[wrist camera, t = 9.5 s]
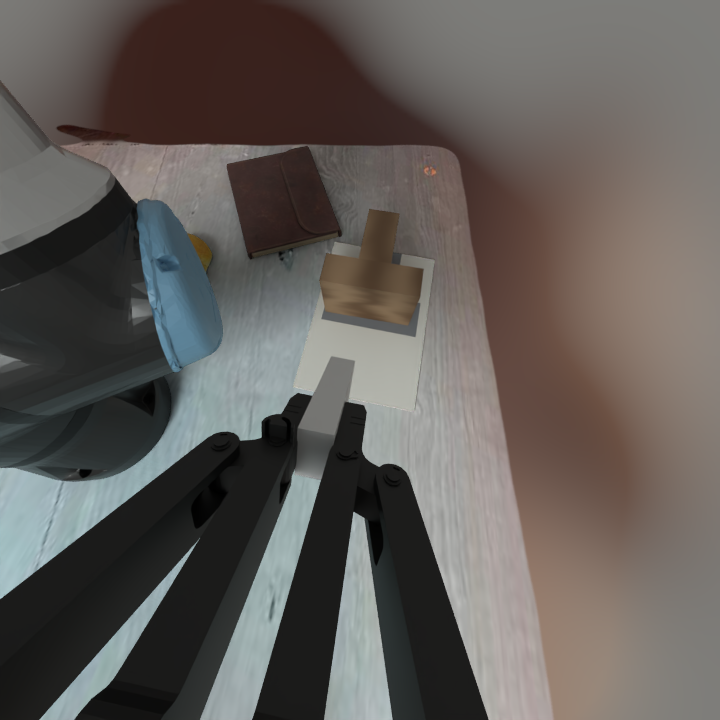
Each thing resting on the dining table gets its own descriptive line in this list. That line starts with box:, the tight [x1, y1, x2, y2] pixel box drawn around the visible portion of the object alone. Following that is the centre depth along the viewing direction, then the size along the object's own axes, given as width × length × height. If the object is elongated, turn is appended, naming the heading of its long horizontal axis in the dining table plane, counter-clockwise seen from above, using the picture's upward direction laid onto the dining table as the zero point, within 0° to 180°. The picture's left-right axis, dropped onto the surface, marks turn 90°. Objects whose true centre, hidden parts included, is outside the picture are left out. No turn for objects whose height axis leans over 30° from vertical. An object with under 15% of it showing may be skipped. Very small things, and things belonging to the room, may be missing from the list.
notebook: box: [227, 146, 342, 259], centre depth 46 cm, size 15×20×2 cm
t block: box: [319, 209, 424, 326], centre depth 37 cm, size 12×12×8 cm
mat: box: [293, 242, 435, 412], centre depth 39 cm, size 16×24×1 cm, turn 169°
